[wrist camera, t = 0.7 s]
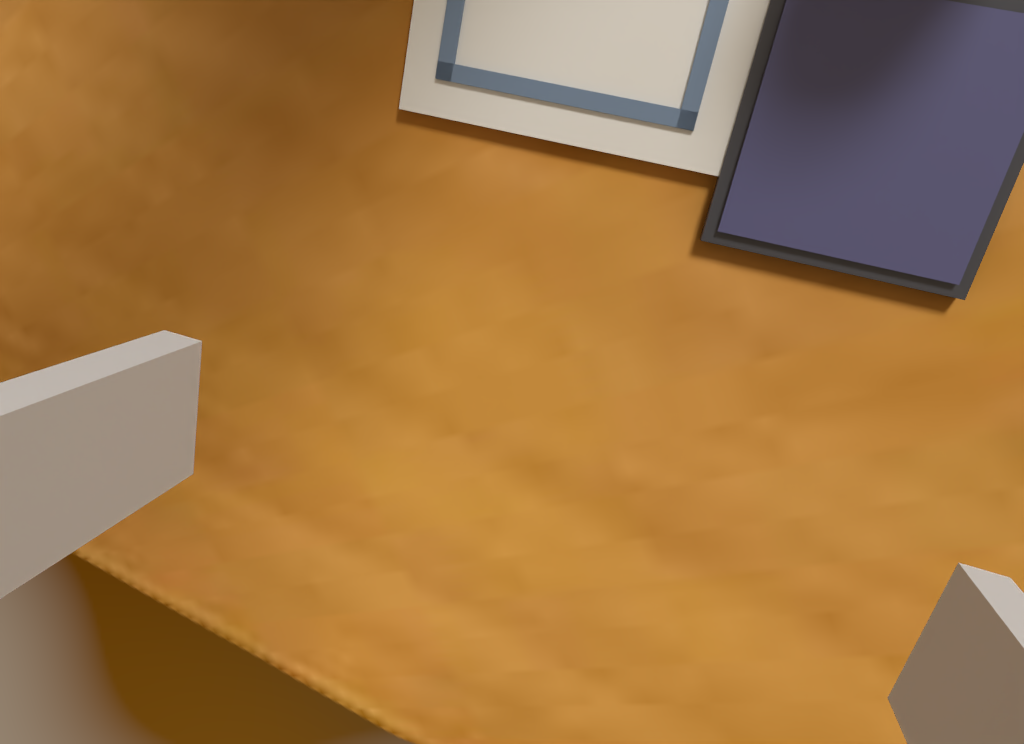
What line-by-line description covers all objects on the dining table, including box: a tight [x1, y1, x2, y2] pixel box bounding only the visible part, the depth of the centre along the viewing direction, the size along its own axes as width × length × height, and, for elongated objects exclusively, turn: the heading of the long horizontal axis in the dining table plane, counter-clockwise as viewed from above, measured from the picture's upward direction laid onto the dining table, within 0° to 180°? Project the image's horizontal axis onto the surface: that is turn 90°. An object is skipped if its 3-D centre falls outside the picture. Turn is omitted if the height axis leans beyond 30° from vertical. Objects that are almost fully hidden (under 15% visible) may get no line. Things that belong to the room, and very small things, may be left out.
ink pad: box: [700, 0, 1024, 300], centre depth 29 cm, size 12×12×1 cm
